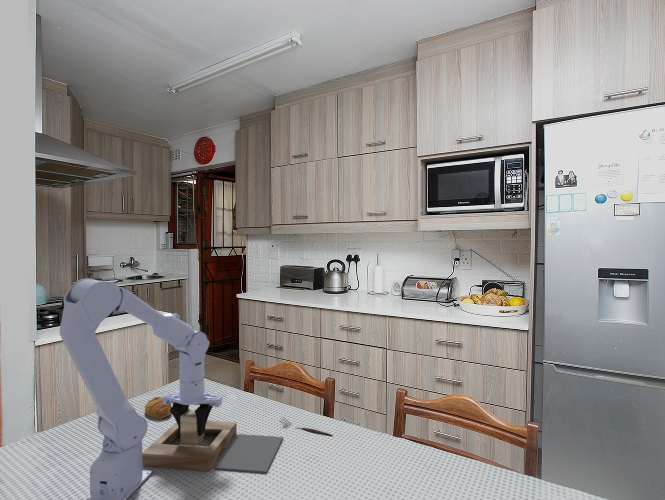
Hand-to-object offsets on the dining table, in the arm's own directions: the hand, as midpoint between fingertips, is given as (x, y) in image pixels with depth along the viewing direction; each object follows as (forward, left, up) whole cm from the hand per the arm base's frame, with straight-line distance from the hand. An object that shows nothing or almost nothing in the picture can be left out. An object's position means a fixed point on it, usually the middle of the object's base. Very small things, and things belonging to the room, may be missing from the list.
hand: (192, 433), depth 88 cm
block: (0, 0, -2) cm, 2 cm away
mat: (0, -15, -4) cm, 15 cm away
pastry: (+17, +20, -4) cm, 26 cm away
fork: (+12, -26, -5) cm, 29 cm away
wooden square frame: (0, 0, -4) cm, 4 cm away
